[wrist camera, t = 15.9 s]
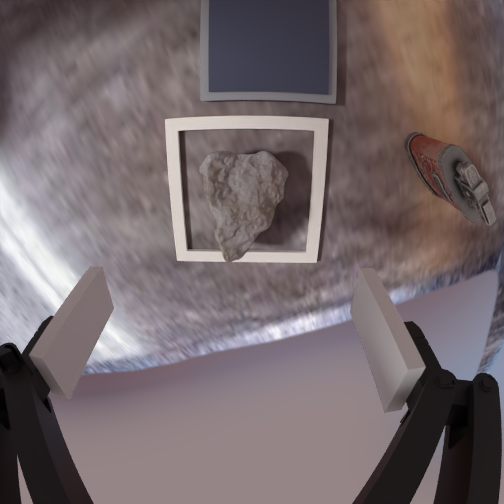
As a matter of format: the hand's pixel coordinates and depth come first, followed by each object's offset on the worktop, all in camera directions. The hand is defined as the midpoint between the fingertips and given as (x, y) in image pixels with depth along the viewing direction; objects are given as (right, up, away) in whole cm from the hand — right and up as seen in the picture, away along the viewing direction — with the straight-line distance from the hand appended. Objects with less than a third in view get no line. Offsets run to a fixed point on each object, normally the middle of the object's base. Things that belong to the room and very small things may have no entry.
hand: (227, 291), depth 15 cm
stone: (0, +8, +15) cm, 17 cm away
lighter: (+20, +11, +13) cm, 26 cm away
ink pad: (+3, +21, +8) cm, 22 cm away
